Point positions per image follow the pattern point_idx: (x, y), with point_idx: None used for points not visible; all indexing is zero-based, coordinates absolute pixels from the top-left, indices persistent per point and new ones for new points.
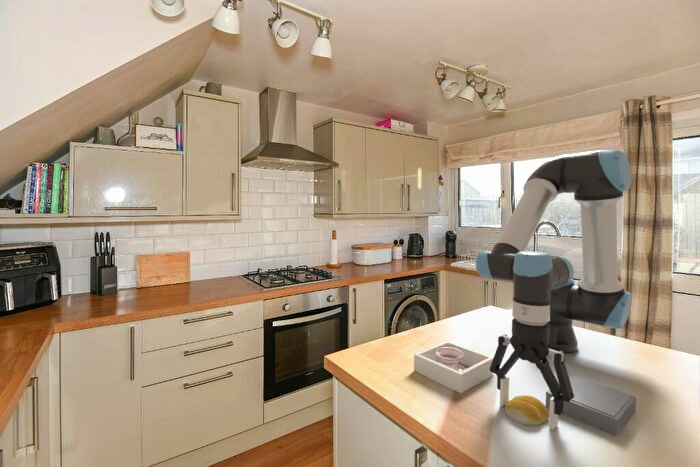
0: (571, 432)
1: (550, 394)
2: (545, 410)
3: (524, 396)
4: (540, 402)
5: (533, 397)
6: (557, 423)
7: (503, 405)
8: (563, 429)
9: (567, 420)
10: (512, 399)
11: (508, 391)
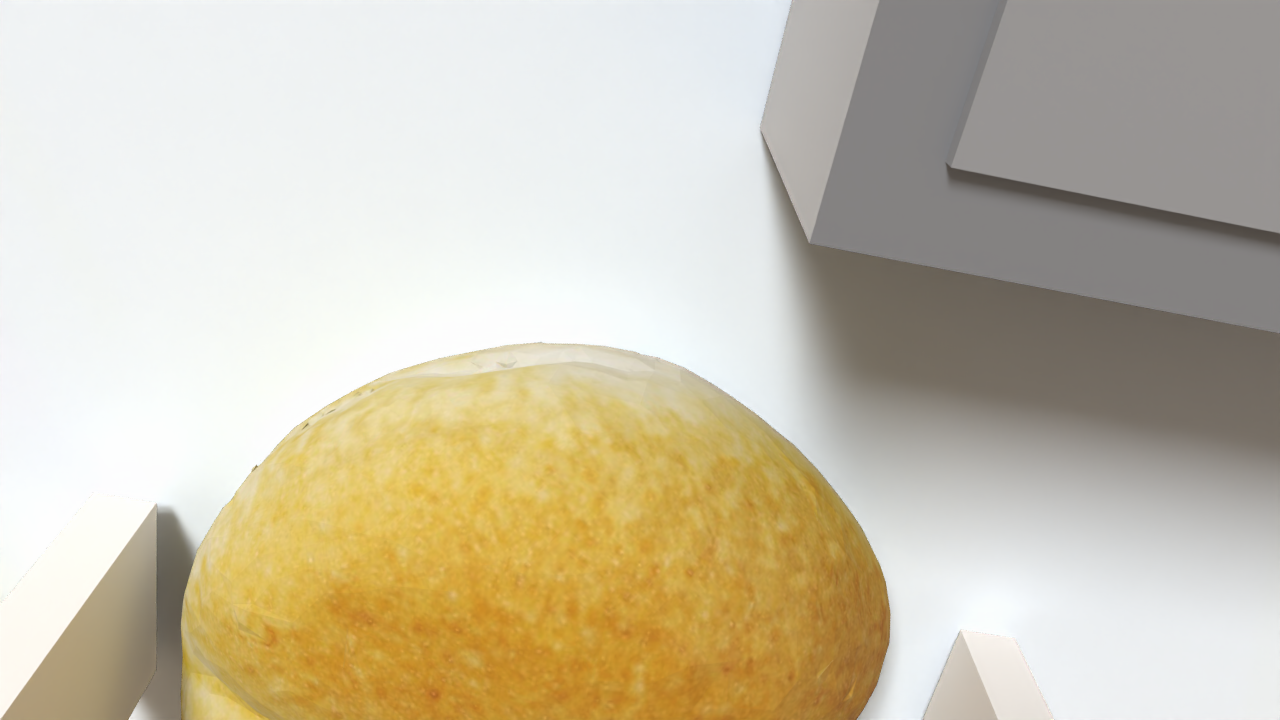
0: (1196, 662)
1: (930, 262)
2: (851, 713)
3: (400, 675)
4: (753, 709)
5: (585, 659)
6: (1019, 663)
7: (151, 660)
8: (1089, 659)
9: (1165, 386)
10: (220, 677)
11: (36, 678)
